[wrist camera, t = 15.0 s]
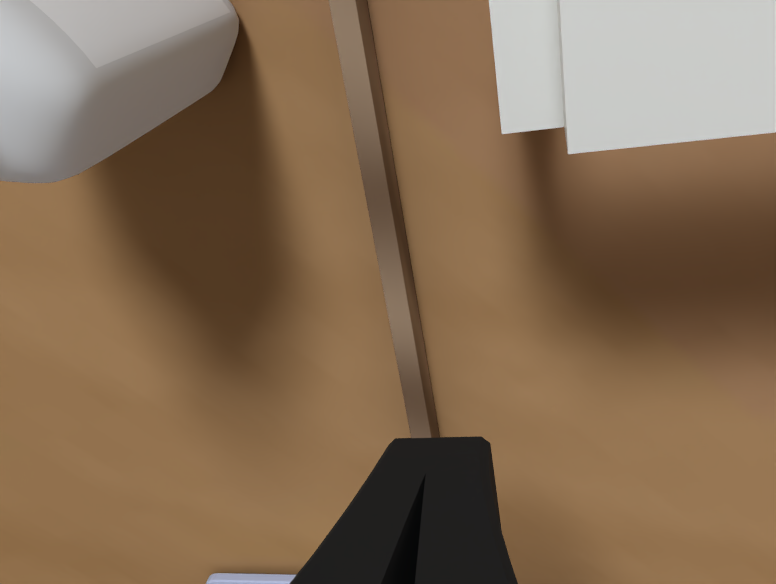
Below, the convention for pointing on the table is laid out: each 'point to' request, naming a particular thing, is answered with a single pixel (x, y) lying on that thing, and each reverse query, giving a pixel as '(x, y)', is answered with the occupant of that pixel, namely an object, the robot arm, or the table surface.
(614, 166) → the table surface
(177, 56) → the eye dropper bottle
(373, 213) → the track
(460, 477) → the robot arm
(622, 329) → the table surface
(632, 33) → the clamp arch
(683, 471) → the table surface
